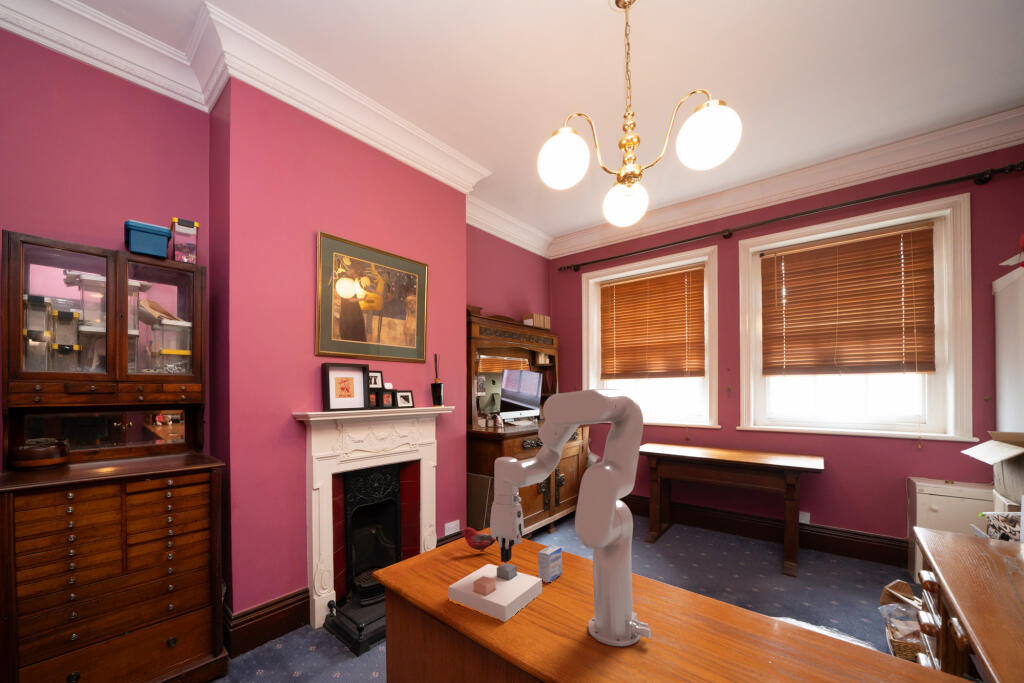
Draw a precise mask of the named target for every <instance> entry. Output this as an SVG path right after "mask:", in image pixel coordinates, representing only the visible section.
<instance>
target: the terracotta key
mask: <svg viewBox="0 0 1024 683" xmlns="http://www.w3.org/2000/svg"><path fill="white" fill-rule="evenodd" d="M495 590H496V580H495V579H492V578H489V577H485V576H482V577H481V578H479V579H477V580H476V581H474V592H476V593H479V594H482V595H484V596H487V595H489V594H490V593H492V592H493V591H495Z"/></svg>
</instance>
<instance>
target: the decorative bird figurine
mask: <svg viewBox="0 0 1024 683" xmlns="http://www.w3.org/2000/svg"><path fill="white" fill-rule="evenodd" d="M461 535H462V536H463V537H464V539H465V541H466V544H467V545H468V546H469V547H470V548H471V549H474V550H475V551H479V552H484V551H485V550H486V549H487V548H489V547H490V546H492V545H494V544H495V543H496V541H497V540H496V539H494V538H492V537H491V534H490V533H489V534H488V533H484V532H480V531H477V530H475V529H474V528H473V527H470V526H467V527H465V528H464V530H463V531H462V532H461Z"/></svg>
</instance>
